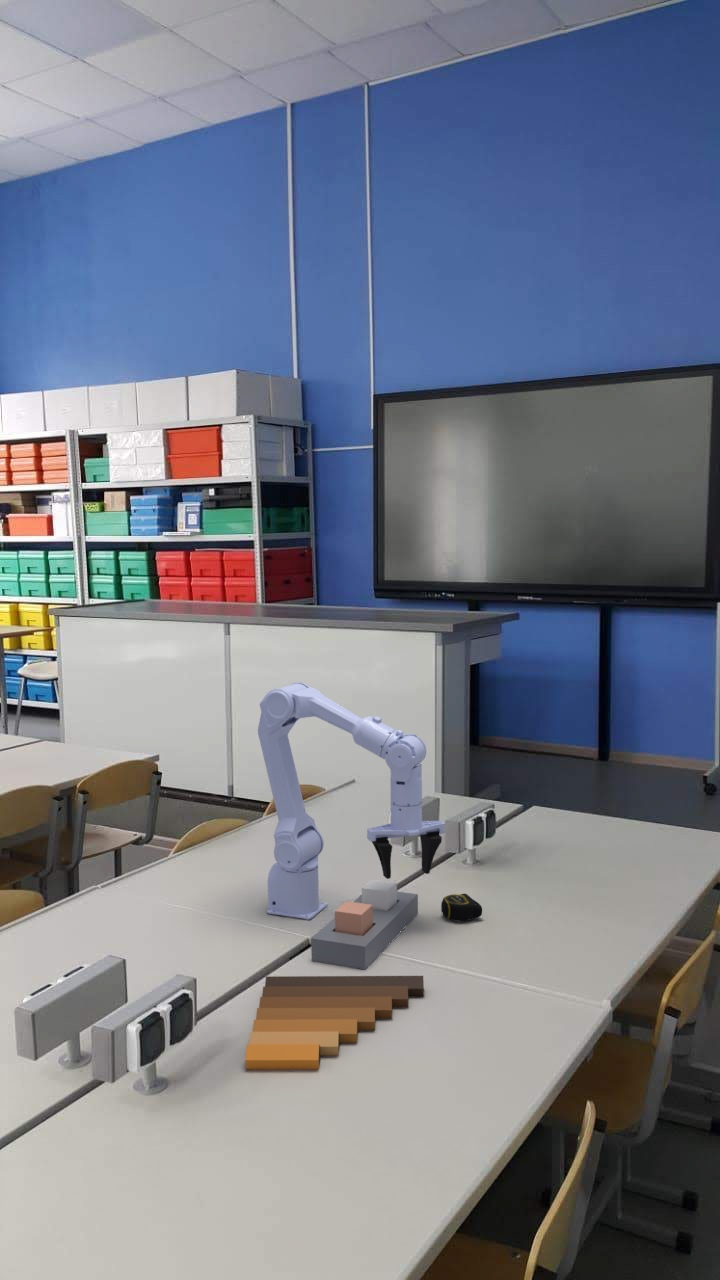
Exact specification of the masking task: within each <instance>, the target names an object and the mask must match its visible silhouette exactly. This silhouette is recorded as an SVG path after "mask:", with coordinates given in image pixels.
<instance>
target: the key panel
mask: <svg viewBox="0 0 720 1280" xmlns="http://www.w3.org/2000/svg"><path fill="white" fill-rule="evenodd" d="M418 899H419V895H418V893H411V892H403V891H397V904H396V905H395V906H394V907H393V908H392V909H391V910H390V911H383V910H376V909H373V927H372V928H371V929H370V930H369V931H368V932H367V933H366V934H365V935H364V936H360V935H353V934H347V933H340V932H335V917H334V918H333V919H331V920H330V921H329V922H328V923H327V924H326V925H324V927H322V929H320V930H319V931H318V932H316V933H315V934H314V935H313V936H312V937H311V938H310V945H311V946H310V949H311V950H310V951H311V961H312V962H318V963H323V964H324V963H325V964H329V965H334V966H335V965H336V966H342V967H347V968H354V969H358V970H360V969H361V970H367V969H368V968H369V967H370V966H371V965H372V964H373V963H374V961H375V960H376V959H377V958H378V957H379V956H380V955H381V954H382V953H383V952H384V951H385V950H386V949H387V948H386V947H387V946H388V945H390V944H391V943H392V942H393V941H394V940H395V939H396V938H397V937H398V936H399V935H400V934H401V933H400V931H402V929H403V928H404V927H405V926H406V925H407V926H409V924H410V923H411V922H412V921H413V920H414V919H415V918H416V917H417V916H418V915H419V900H418ZM353 902H356V903H362V894H361V895H359V896H358V897H357V898H355V900H354V901H353ZM417 914H418V915H417ZM416 915H417V916H416ZM415 916H416V917H415ZM414 917H415V918H414ZM413 918H414V919H413ZM412 919H413V920H412ZM411 920H412V921H411ZM410 921H411V922H410ZM409 922H410V923H409ZM408 923H409V924H408ZM402 932H403V931H402ZM399 933H400V934H399ZM398 934H399V935H398ZM397 935H398V936H397ZM396 936H397V937H396ZM395 937H396V938H395ZM394 938H395V939H394ZM393 939H394V940H393ZM392 940H393V941H392ZM391 941H392V942H391ZM390 942H391V943H390ZM389 943H390V944H389ZM388 947H389V946H388ZM385 948H386V949H385ZM384 949H385V950H384ZM383 950H384V951H383ZM382 951H383V952H382ZM381 952H382V953H381ZM380 953H381V954H380ZM379 954H380V955H379ZM378 955H379V956H378ZM377 956H378V957H377ZM369 965H370V966H369ZM368 966H369V967H368Z"/></svg>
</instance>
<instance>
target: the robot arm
mask: <svg viewBox="0 0 720 1280" xmlns="http://www.w3.org/2000/svg"><path fill="white" fill-rule="evenodd" d="M259 707H260V717H259V723H258V727H257V734H258V740H259V744H260V747H261V751H262V755H263V760H264V764H265V769H266V774H267V777H268V780H269V785H270V789H271V794H272V798H273V802H274V806H275V811H276V816H277V819H278V821H277V825H276V828H275V830H274V833H273V837H274V850H273V855H274V859H275V862H276V863H273V864H272V866H271V868H270V869H269V872H268V876H267V898H268V899H267V901H268V902H267V903H268V905H267V907H268V909H267V910H266V914H269V915H276V916H284V917H290V918H298V919H303V920H312V918H314V917H315V916H316V915H318V914H319V913H320V912H321V911H322V910H323V909H325V908H327V906H328V903H327V902H322V901H320V893H319V892H320V889H319V855H320V854H321V853H322V851H323V849H324V845H325V843H324V838H323V837H324V836H323V835H322V833H321V832H320V830H318V828H317V826H316V822H315V819H314V818H313V817H312V816H310V815H309V814H308V813H307V811H306V807H305V803H304V799H303V795H302V789H301V786H300V782H299V778H298V773H297V770H296V769H297V768H296V766H295V765H296V764H295V761H294V756H293V752H292V748H291V743H290V740H289V733H290V732H291V730H292V729H293V727H294V725H295V724H296V722H297V721H299V720H300V719H305V718H313V717H316V718H317V719H320V720H322V721H324V722H326V723H328V724H330V725H332V726H335V727H336V728H338V729H340V730H343V731H345V732H347V733H349V734H351V735H352V739H353V741H354V743H355V744H356V745H357V746H359V747H361V748H362V749H365V750H366V751H368V752H370V753H372V754H373V755H375V756H377V757H379V758H381V759H383V760H385V763H386V765H387V767H388V768H389V769H390V823H386V824H383V825H379V826H374V827H368V828H366V831H367V833H366V834H367V835H366V838H367V840H368V841H370V842H371V843H372V844H373V847H374V848H375V849H374V850H375V852H376V853H377V857H378V859H379V861H380V865H381V869H382V875H383V877H384V878H385V879H386V880H387V879H388V880H389V879H391V878H392V877H391V876H392V869H391V868H392V865H391V859H392V851H393V845H392V844H391V843H390V840H389V839H396V838H403V837H404V838H405V837H413V836H419V837H420V845H421V871H422V872H424V873H425V875H428V874H430V873H431V868H432V865H433V860H434V857H435V855H436V852H437V850H438V849H439V848H440V845H441V844H442V840H443V839H442V835H443V834H445V833H446V829H445V828H446V823H445V822H443V821H442V820H423V811H422V810H423V777H422V773H423V772H422V767H423V766H422V762H423V761H424V760H425V758H426V755H427V747H426V744H425V743H424V741H423V739H421V737H418V735H417V734H414V733H406V734H404V731H403V730H401V729H395V728H393V727H391V726H390V725H388V724H385V723H384V722H382V719H383V718H381V717H379V716H377V715H376V716H371V715H370V716H365V717H363V718H361V717H360V716H358V715H356V714H355V713H353V712H352V711H350V710H348V709H347V708H345V707H343V706H341V704H338V703H337V702H335V701H334V700H332V699H330V698H328V697H327V696H326V695H324V694H322V693H321V691H319V690H318V689H317V688H314V687H312V686H311V687H310V686H309V685H308V684H306V683H304V682H301V681H297V682H296V681H295V682H292V683H290V684H289V685H286V686H282V687H279V688H273V689H271V690H269V691H268V692H267V693H266V695H265V696H264V697H263V698H262V700H261V701H260V703H259Z"/></svg>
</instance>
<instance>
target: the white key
mask: <svg viewBox="0 0 720 1280" xmlns="http://www.w3.org/2000/svg"><path fill="white" fill-rule="evenodd" d="M397 892H398V883H397V882H396V881H395V882H394V881H388V880H387V881H386V880H379V879H370V880H369V881H368V882H367V883H366V884H365V885H364V886H363V887H361V895H362V903H363V904H371V905H372V906H373V909H376V910H383V911H390V910H391V909H392V908H393V907H394V906H395V905H396V904H397Z"/></svg>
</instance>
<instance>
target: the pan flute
mask: <svg viewBox="0 0 720 1280" xmlns="http://www.w3.org/2000/svg"><path fill="white" fill-rule="evenodd" d="M264 983H265V984H264V986H262V992H261V993H262V996H260V997H259V1005H258V1008H257V1007H256V1015H255V1017H256V1018H255V1019H253V1024H252V1026H253V1027H252V1031H250V1033H249V1040H248V1041H249V1043H248V1044H246V1048H245V1050H246V1051H245V1058H244V1060H245V1070H320V1066H321V1065H320V1064H321V1056H339V1054H340V1043H345V1044H346V1043H358V1039H359V1038H358V1036H359V1031H376V1019H378V1020H379V1019H381V1020H382V1019H385V1020H388V1019H393V1008H409V998H410V997H418V998H419V997H420V998H421V997H425V995H424V994H425V991H424V990H425V989H424V987H425V986H424V984H425V983H424V975H336V976H335V975H334V976H333V975H329V976H328V975H316V976H315V975H312V976H311V975H310V976H309V975H308V976H306V975H304V976H303V975H300V976H299V975H298V976H295V975H294V976H293V975H291V976H290V975H288V976H287V975H286V976H285V975H284V976H282V975H281V976H277V975H275V976H265V982H264Z"/></svg>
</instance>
